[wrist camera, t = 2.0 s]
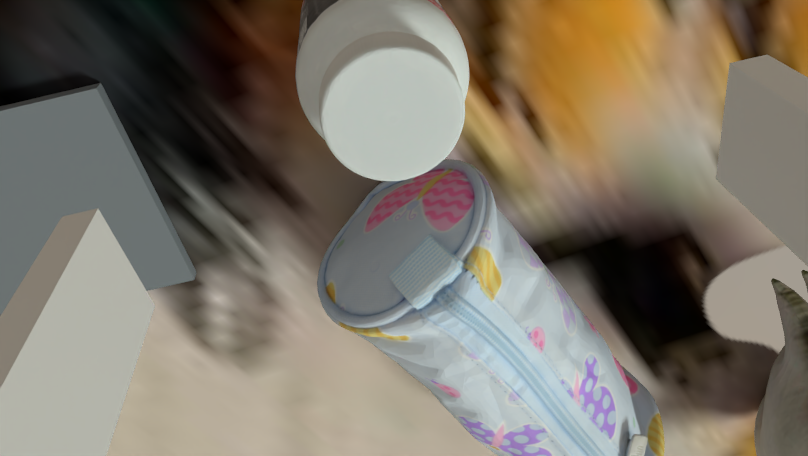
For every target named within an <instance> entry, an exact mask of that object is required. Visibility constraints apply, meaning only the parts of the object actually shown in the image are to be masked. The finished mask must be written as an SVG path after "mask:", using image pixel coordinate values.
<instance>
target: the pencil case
mask: <svg viewBox="0 0 808 456" xmlns="http://www.w3.org/2000/svg"><path fill="white" fill-rule="evenodd" d="M317 285H318V294H319V297H320V300H321V303H322V306H323V308H324V310H325V312H326V313H327V315H328V316H329V317H330V318H331V319H332V320H333V321H334V322H335V323H337V324H338V325H339V326H341V327H343V328H345V329H347V330H349V331H352V332H354V333H356V334H357V335H359V336H361V337H362V338H364V339H366V340H367V341H369V342H371V343H372V344H373V345H375V346H376V347H377V348H378V349H380V350H381V351H382V352H384V353H385V354H386V355H387V356H389V357H390V358H391V359H393V360H395V361H396V362H397V363H398V364H399V365H400V366H401V367H402V368H404V369H405V370H406V371H407V372H408V373H409V374H411V375H412V376H413V377H414V378H416V379H417V380H418V381H420V382H421V383H422V384H424V385H425V386H426V387H427V388H429V389H430V390H431V392H432V393H433V394H434V395H435V397H436V398H437V399H438V400H439V401H440V403H441V404H442V405H443V406H444V407H445V408H446V409H447V410H448V411H449V412H450V413H451V414H452V415H453V416H454V417H455V418H456V419H457V420H458V421H459V422H460V423H461V424H462V425H463V427H464V428H465V429H466V430H467V431H468V432H469V433H470V434H471V435H472V436H473V437H475V438H476V439H477V440H478V441H479V442H480V443H482V444H483V445H485V446H486V447H487V448H488V449H490V450H491V451H492V452H494V453H495V454H497V455H498V456H664V432H663V426H662V421H661V416H660V413H659V410H658V407H657V405H656V403H655V401H654V399H653V397H652V396H651V394H650V393H649V392H648V390H647V389H646V388H645V387H644V386H643V385H642V384H641V383H640V382H639V381H638V380H637V379H636V378H635V377H634V376H633V375H632V374H630V373H629V372H628V371H627V370H626V369H625V368H624V367H622V366H621V365H620V364H619V362H618V361H617V360H616V359H615V358H614V356H613V354H612V353H611V351H610V349H609V347H608V345H607V344H606V342H605V341H604V339H603V337H602V336H601V335H600V333H599V332H598V331H597V330H596V328H595V327H594V326H593V324H592V323H591V322H590V320H589V319H588V318H587V317H586V316H585V314H584V313H583V312H582V311H581V310H580V309H579V307H578V306H577V305H576V304H575V302H574V301H573V300H572V298H571V297H570V296H569V295H568V293H567V292H566V291H565V289H564V288H563V287H562V285H561V284H560V283H559V281H558V280H557V279H556V278H555V277H554V275H553V274H552V273H551V272H550V271H549V270H548V268H547V267H546V266H545V265H544V264H543V263H542V261H541V260H540V258H539V257H538V256H537V254H536V253H535V252H534V251H533V249H532V248H531V246H530V245H529V244H528V243H527V242H526V241H525V240H524V239H523V238H522V237H521V235H520V234H519V233H518V232H517V230H516V229H515V228H514V227H513V225H512V224H511V223H510V222H509V221H508V219H507V218H506V217H505V216H504V215H503V214H502V213H501V212H500V211H499V210H498V209H497V207H496V205H495V200H494V197H493V194H492V191H491V188H490V186H489V184H488V182H487V180H486V178H485V177H484V176H483V174H482V173H481V172H480V171H479V170H478V169H477V168H475V167H474V166H473V165H471V164H468V163H465V162H463V161H460V160H443V161H442V162H440V163H439V164H438V165H437V166H435V167H434V168H432V169H431V170H429V171H428V172H426V173H424V174H422V175H419V176H417V177H414V178H410V179H406V180H401V181H384V182H382V183H380V184H379V185H377V186H376V187H375V188H374V189H373V190H372V191H371V192H370V193H369V194H368V195H367V196H366V198H365V199H364V200H363V202H362V203H361V204H360V206H359V207H358V208H357V210H356V211H355V212H354V214H353V215H352V216H351V218H350V219H349V220H348V221H347V223H346V224H345V225H344V226H343V228H342V229H341V230H340V231H339V233H338V234H337V235H336V237H335V238H334V239H333V241H332V242H331V244H330V246H329V247H328V249H327V251H326V253H325V255H324V257H323V260H322V262H321V265H320V269H319V274H318V281H317Z"/></svg>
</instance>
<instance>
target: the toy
mask: <svg viewBox="0 0 808 456" xmlns="http://www.w3.org/2000/svg"><path fill="white" fill-rule="evenodd" d="M802 276H803V278H804V280H805V283H806V286H807V291H808V271H805V270H803V271H802ZM771 282H772V285H773V288H774V290H775V293H776V298H777V304H778V308H779V311H780V316H781V320H782V325H783V330H784V336H785V346H784V347H783V348H782V350H781V352H780V353H779V355H778V356H777V358H776V360H775V361H774V364H773V366H772V368H771V372H770V376H769V380H768V384H767V389H766V395H765V396H764V397H763V399H762V401H761V403H760V406H759V409H758V413H757V416H756V421H755V430H754V435H755V447H756V454H757V456H808V303H807V302H806V301H805V300H804V299H803V298H802V297H800V296H799V295H798V294H797V293H796V292H795V291H794V290H792V289H791V288H789V287H788V286H786V285H785V284H783V283H782V282H780V281H778V280H776V279H772V281H771Z"/></svg>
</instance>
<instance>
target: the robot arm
mask: <svg viewBox="0 0 808 456" xmlns="http://www.w3.org/2000/svg"><path fill="white" fill-rule="evenodd" d="M716 179H717V180H718V181H719V182H720V183H721V184H722V185H723V186H724V187H725V188H726V189H727V190H728V191H729V192H730V193H731V194H732V195H734V196H735V197H736V198H737V199H738V200H739V201H740V202H741V203H742V204H743V205H744V206H745V207H746V208H747V209H748V210H749V211H750V212H751V213H752V214H753V215H755V216H756V217H757V218H758V219H759V220H760V221H761V222H762V223H763V224H764V225H765V226H766V227H767V228H768V229H769V230H770V231H771V232H772V233H773V234H774V235H776V236H777V237H778V238H779V239H780V240H781V241H782V242H783V243H784V244H785V245H786V246H787V247H788V248H789V249H790V250H791V251H792V252H793V253H795V254H796V255H797V256H798V257H799V258H800V259H801V260H802V261H803V262H804V263H805V264H806V265H807V266H808V77H806V76H804V75H802V74H801V73H799V72H797V71H795V70H793V69H792V68H790V67H788V66H786V65H785V64H783V63H781V62H779V61H778V60H776V59H774V58H772V57H770V56H769V55H764V56H759V57H755V58H751V59H746V60H742V61H738V62H733V63H730V65H729V73H728V82H727V90H726V99H725V107H724V115H723V124H722V132H721V141H720V149H719V158H718V166H717V175H716ZM154 308H155V305H154V303H153V301H152V299H151V298H150V296H149V294H148V293H147V291H146V289H145V287H144V286H143V284H142V282H141V281H140V279H139V277H138V276H137V274H136V272H135V270H134V269H133V267H132V265H131V264H130V262H129V260H128V258H127V257H126V255H125V253H124V252H123V250H122V248H121V247H120V245H119V243H118V241H117V240H116V238H115V236H114V235H113V233H112V231H111V229H110V228H109V226H108V224H107V223H106V221H105V219H104V217H103V216H102V214H101V212H100V211H99V209H98V208H97V209H93V210H89V211H84V212H80V213H76V214H71V215H67V216H63V217H62V218H61V219H60V221H59V222H58V224H57V226H56V227H55V229H54V230H53V232H52V234H51V235H50V237H49V239H48V240H47V242H46V243H45V245H44V247H43V248H42V250H41V251H40V253H39V255H38V256H37V258H36V259H35V261H34V263H33V264H32V266H31V268H30V269H29V271H28V272H27V274H26V276H25V277H24V279H23V280H22V282H21V284H20V285H19V287H18V289H17V290H16V292H15V293H14V295H13V297H12V298H11V300H10V301H9V303H8V305H7V306H6V308H5V310H4V311H3V313H2V314H1V316H0V456H106V455H107V452H108V449H109V446H110V443H111V440H112V437H113V434H114V431H115V428H116V424H117V421H118V418H119V415H120V412H121V409H122V406H123V403H124V400H125V397H126V394H127V391H128V388H129V384H130V381H131V378H132V375H133V372H134V369H135V366H136V363H137V360H138V357H139V354H140V351H141V348H142V345H143V341H144V338H145V335H146V332H147V329H148V326H149V323H150V320H151V317H152V314H153V311H154Z"/></svg>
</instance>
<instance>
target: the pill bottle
mask: <svg viewBox="0 0 808 456" xmlns="http://www.w3.org/2000/svg"><path fill="white" fill-rule="evenodd" d="M295 77H296V86H297V92H298V96H299V100H300V103H301V106H302V109H303V111H304V113H305V115H306V117H307V119H308V120H309V122H310V124H311V125H312V126H313V128H314V129H315V130H316V131H317V133H318V134H319V135H320V136H321V137H322V138H323V139H324V140H325V141H326V143H327V145H328V147H329V149H330V150H331V152H332V153H333V154H334V156H335V157H336V158H337V159H338V160H339V161H340V162H341V163H342V164H343V165H344V166H345V167H347V168H348V169H350V170H351V171H353V172H354V173H357V174H359V175H361V176H363V177H366V178H370V179H373V180H380V181H401V180H406V179H410V178H414V177H417V176H419V175H422V174H424V173H426V172H428V171H429V170H431V169H432V168H434V167H435V166H437V165H438V164H439V163H440V162H442V161H443V160H444V159H445V158H446V157H447V156H448V154H449V153H450V152H451V151H452V149H453V148H454V146H455V145H456V143H457V141H458V139H459V136H460V134H461V131H462V128H463V124H464V118H465V103H464V102H465V99H466V95H467V91H468V85H469V64H468V58H467V53H466V50H465V47H464V44H463V41H462V39H461V36H460V34H459V32H458V31H457V29H456V27H455V26H454V24H453V22H452V21H451V19H450V18H449V17H448V15H447V14H446V12H445V11H444V9H443V8H442V6H441V5H440V3H439V2H438V0H303V4H302V9H301V19H300V29H299V41H298V52H297V61H296V74H295Z"/></svg>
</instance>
